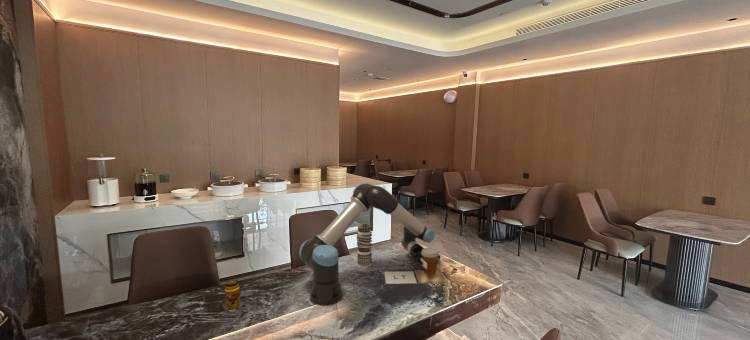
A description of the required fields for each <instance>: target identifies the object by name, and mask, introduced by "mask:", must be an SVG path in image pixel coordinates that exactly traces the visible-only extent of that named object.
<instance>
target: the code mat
mask: <svg viewBox="0 0 750 340" xmlns="http://www.w3.org/2000/svg"><path fill="white" fill-rule="evenodd" d="M383 273H384V280H385V285H394V284H395V285H397V284H399V285H403V284H404V285H405V284H406V285H407V284H418V282H417V281H418V280H417V278H416V277H415V276H416V275H415V272H414V271H412V270H411V271H409V270H408V271H406V270H405V271H384V272H383Z"/></svg>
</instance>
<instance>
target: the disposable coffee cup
mask: <svg viewBox="0 0 750 340" xmlns="http://www.w3.org/2000/svg"><path fill="white" fill-rule="evenodd" d="M421 254H422V258H421V259H423V260H424V261H425V262H426V263H427V269H426V268H425V267H423V266H422V268H423V270H424V273H425V274H428V275H433V274H435V273H436V270H437V267H438V264H437V261H438V256H439V255H440V253H439V250H438V249H436V248H434V247H433V248H432V247H425V248H424V249H422V252H421Z"/></svg>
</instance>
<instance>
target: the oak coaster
mask: <svg viewBox="0 0 750 340" xmlns="http://www.w3.org/2000/svg"><path fill="white" fill-rule="evenodd" d="M414 275H415V276H416V277H415V278H416V280H417V281H418V282H417V283H418V284H447V281H446V279H445V277H444V275H443V274H442V272H441V269H436V273H435V274H433V275H428V274H425V273H424V269H423V270H421V269H420V270H414Z"/></svg>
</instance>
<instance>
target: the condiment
mask: <svg viewBox="0 0 750 340" xmlns="http://www.w3.org/2000/svg"><path fill="white" fill-rule="evenodd" d="M224 288H225V289H224V298H225V299H224V301H225V304H224V305H226V309H228V310H233V309H237V308H239V307H240V305H241V304H242V303H241V291H240V290H241V289H240V284H239V280H238V279H230V280H228V281H225V287H224Z"/></svg>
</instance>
